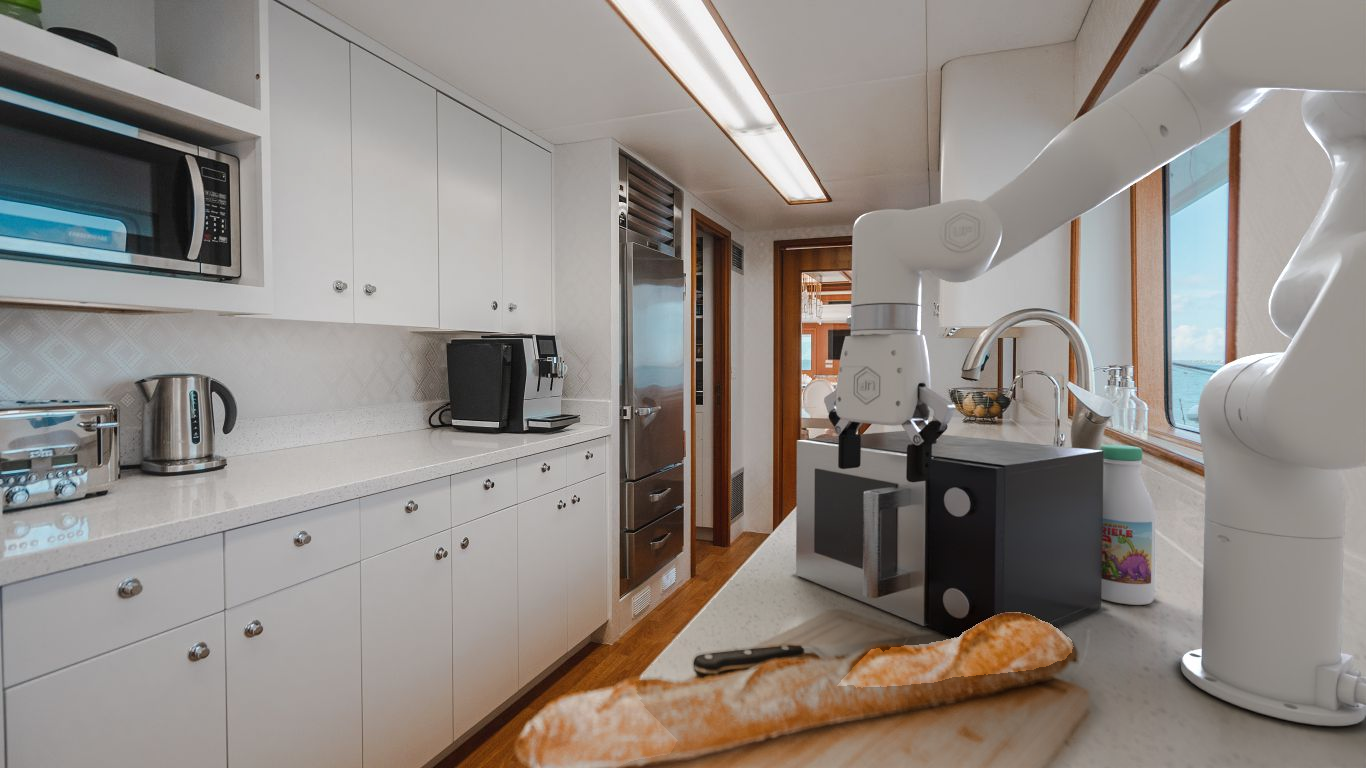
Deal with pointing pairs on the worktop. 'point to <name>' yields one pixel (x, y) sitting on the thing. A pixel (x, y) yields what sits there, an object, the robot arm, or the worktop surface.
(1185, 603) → the worktop surface
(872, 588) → the microwave door
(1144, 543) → the milk bottle
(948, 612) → the microwave
